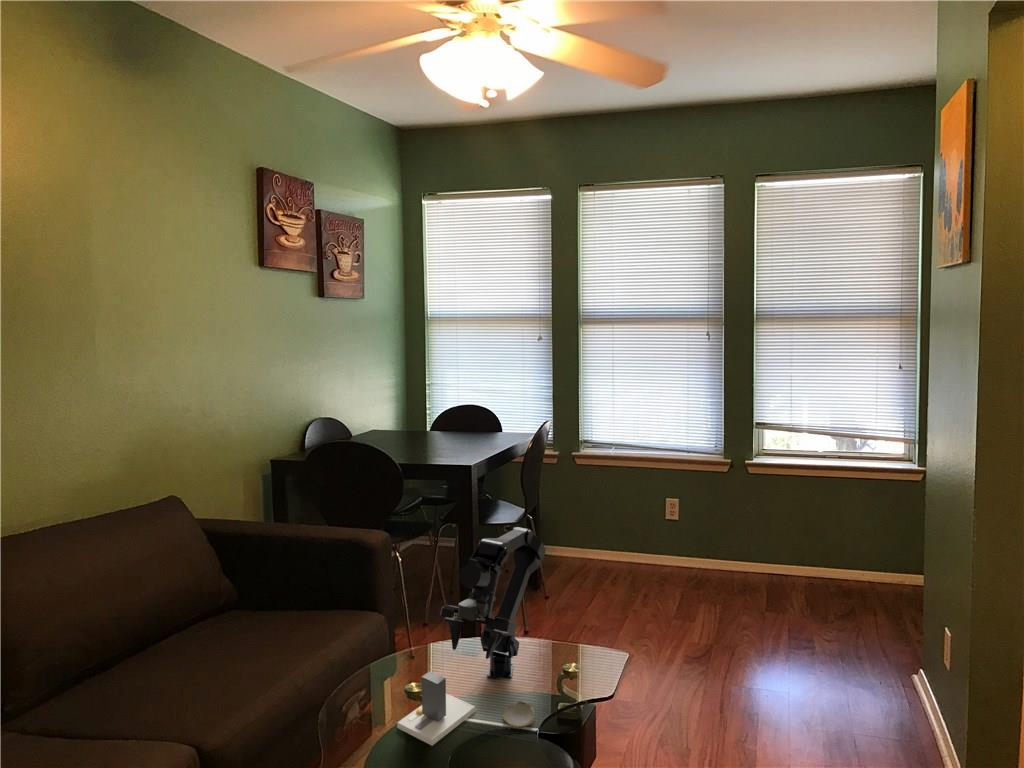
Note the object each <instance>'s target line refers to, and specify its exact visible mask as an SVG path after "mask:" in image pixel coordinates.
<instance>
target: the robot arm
mask: <svg viewBox="0 0 1024 768" xmlns="http://www.w3.org/2000/svg"><path fill="white" fill-rule="evenodd" d="M511 553H512V561H513V565H514V567H513V570H512V573H511V575H510V578H509V581H508V583H507V587H506V589H505V592H504V595H503V597H502V600H501V602H500V605H499V608H498V610H497V613H496V614H495V615H494V616H493V613H492V609H493V606H494V602H496V600H497V597H496V596H495V595H496V591H497V587H498V586H497V585H498V582H499V577H500V575H502V570H501V569H500V568H501V567H502V566H503V565H504V564H505V563H506V561H507V562H508V560H509V557H510V556H509V555H510V554H511ZM545 555H546V548H545V546H544V544H543V541H542V539H540V538H538V537H537V536H536V535H535V534H534V531H533V530H532V529H530V528H525V527H520V526H516V527H515V526H514V527H513V528H512V530H510V531H508V532H506V533H504V534H503V535H501V536H499V537H496V538H494V537H492V538H491V537H485V538H482V539H481V540H480V541H479V542H478V544H477V545H476V547H475V548H474V550H473V552H472V554H471V555H470V557H469V558H468V564H465V565H463V567H461V569H460V571H459V572H458V573H459V574H458V580H459V582H460V584H461V585H462V586H463V587H465V588H467V589H468V588H469V589H472V591H469V593H468V597H467V599H464V600H463V601H461V602H459V603H458V606H456V605H450V604H449V605H448V604H444V605H443V606H442V607H441V609H440V612H439V613H440V614H439V616H440V617H444V618H443V620H444V621H445V622H447V624H448V626H449V631H450V635H451V638H450V639H451V646H452V647H451V648H452V650H453V651H456V650H457V647H458V644H459V642H460V641H459V640H460V636H461V633H462V629H463V625H464V620H467V621H471V622H476V623H480V624H483V625H485V626H484V628H483V630H482V632H481V633H480V644H481V649H482V652H486V653H485V660H486V659H487V660H488V659H489V665H488V670H487V674H486V677H487V678H495V679H496V678H497V679H507V680H508V679H512V677H513V672H514V665H515V664H513V663H512V659H513V658H514V657H517V656H518V653H519V652H518V651H519V649H520V642H519V640H517V638H516V628H517V624H516V621H515V618H516V615H517V612H518V610H519V608H520V605H521V602H522V598H523V595H524V593H525V590H526V588H527V584H528V581H529V579H530V576H531V574H533V572H535V571H536V570H538V569H539V567H540V565H541V563H542V561H543V560H544V558H545ZM461 619H462V620H461ZM463 619H464V620H463Z"/></svg>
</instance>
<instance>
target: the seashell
mask: <svg viewBox="0 0 1024 768" xmlns="http://www.w3.org/2000/svg"><path fill="white" fill-rule="evenodd" d="M501 715H502V718H503V721H504V723H507V724H508V725H509V726H511V727H515V728H523V727H528V726H529V725H531V724H532V723H534V721H535V718H536V716H535V706H534V705H533V704H530V703H527V702H524V701H522V700H519V701H518V702H517V703H515V704H511V705H508V706H506V707H505V708H504V709H503V710H502V714H501Z"/></svg>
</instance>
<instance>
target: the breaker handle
mask: <svg viewBox="0 0 1024 768" xmlns="http://www.w3.org/2000/svg"><path fill="white" fill-rule="evenodd" d="M446 680H447V678H446V677H444V676H442V675H440V674H438V673H435V672H433V671H430V670H429V671H428V672H426V673H425V674H423V675H422V676H421V705H422V714H424V715H426V716H428V717H430V718H432V719H434V720H436V721H439V720H441V719H442V718H443V717H444V716H446V694H447V683H446V682H447V681H446Z"/></svg>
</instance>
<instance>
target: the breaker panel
mask: <svg viewBox="0 0 1024 768" xmlns="http://www.w3.org/2000/svg"><path fill="white" fill-rule="evenodd" d="M475 713H476V706H475V705H473V704H471V703H468V702H466V701H464V700H461V698H457V697H456V696H453V695H450V694H449V693H446V716H444V717H443V718H442V719H441V720H439V721H436V720H434V719H432V718H430V717H428V716H426V715H424V714H422V704H421V705H420V706H419V707H417V708H416V709H414V710H413V711H411V712H410V713H408V714H407V715H406V716H404V717H403V718H401V719H399V721H398V722H397V729H399V730H400V731H403V732H404V733H407V734H408V735H411V736H412V737H413V738H414V737H415V738H416V739H418V740H420V741H422V742H424V743H426V744H428V745H430V746H431V747H432V746H434V745H435V744H436V743H438V742H439V741H441V740H442V739H443V738H445V737H446V736H447V735H448V734H449V733H450V732H452V731H453V730H454V729H455V728H457V727H458V726H459V725H461V724H462V723H463V722H465V721H466V720H467V719H468V718H469V717H471V716H472V715H473V714H475Z"/></svg>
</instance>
